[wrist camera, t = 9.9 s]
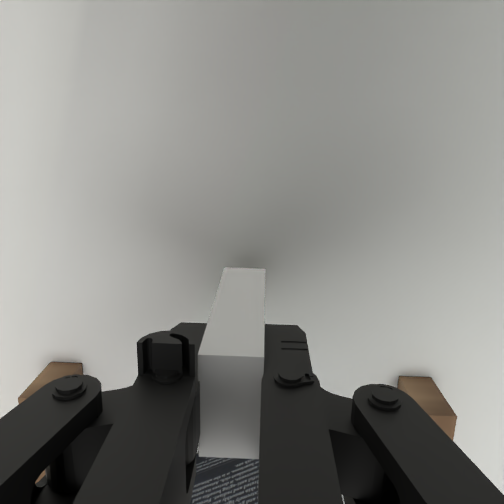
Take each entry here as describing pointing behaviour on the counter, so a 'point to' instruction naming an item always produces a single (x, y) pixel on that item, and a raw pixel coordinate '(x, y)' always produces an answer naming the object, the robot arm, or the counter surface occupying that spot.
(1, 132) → the counter surface
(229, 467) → the small box
